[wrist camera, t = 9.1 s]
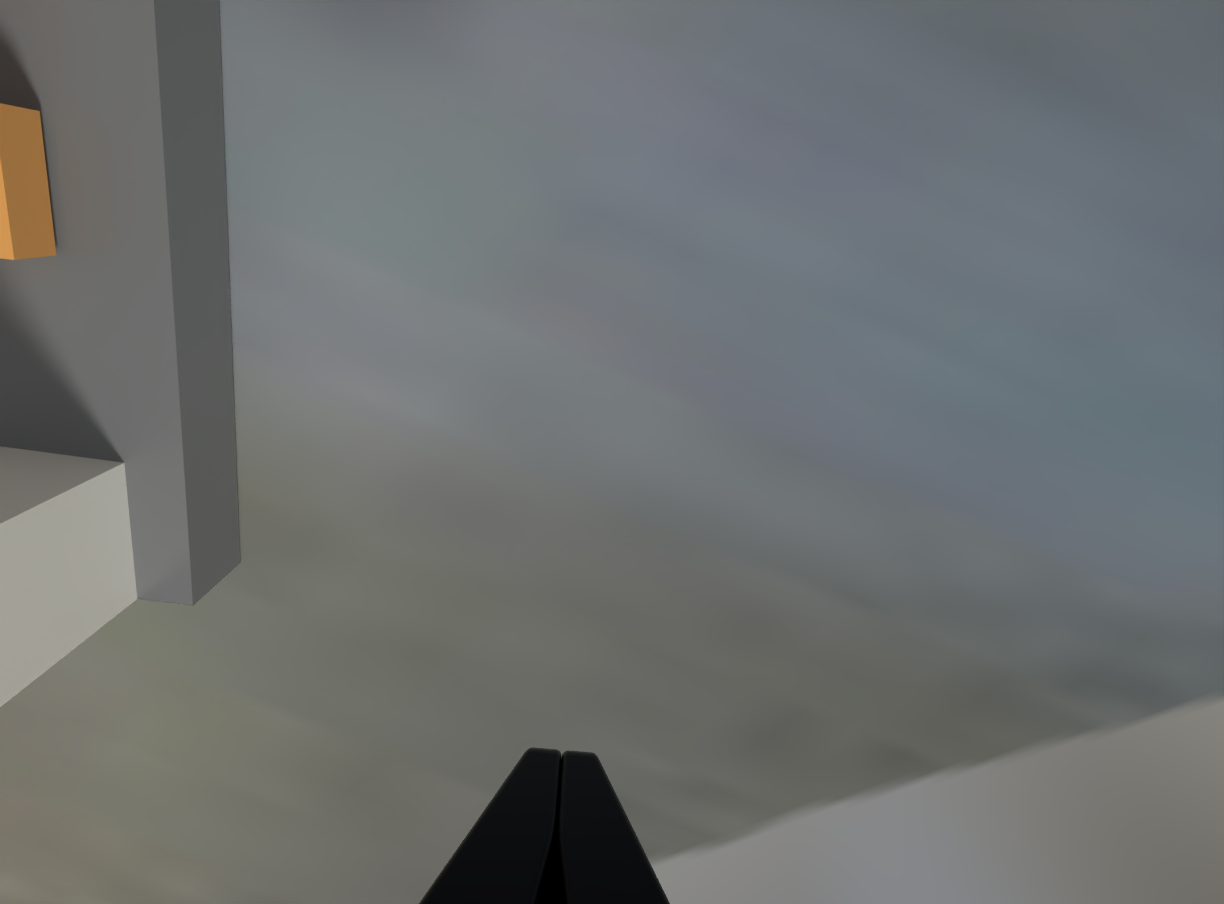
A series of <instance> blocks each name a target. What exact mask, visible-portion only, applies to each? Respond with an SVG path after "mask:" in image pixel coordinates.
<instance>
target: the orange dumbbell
mask: <svg viewBox="0 0 1224 904" xmlns="http://www.w3.org/2000/svg"><path fill="white" fill-rule="evenodd" d="M47 256H56V247H55V239H54V230H53V222H52V213H51V205H50V196H49V187H48V179H47V170H46V162H45V153H44V145H43V136H42V127H41V119H40V111H37V110H32V109H27V108H22V107H17V106H12V105H7V104H2V103H0V258H2V259H10V260H19V259H28V258H38V257H47Z"/></svg>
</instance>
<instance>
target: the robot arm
mask: <svg viewBox="0 0 1224 904" xmlns="http://www.w3.org/2000/svg"><path fill="white" fill-rule="evenodd" d="M419 904H670V903H669V901H668V899H667V897H666V895H665V893H664V891H663V889H662V887H661V885H660V883H659V881H658V879H657V877H656V875H655V873H654V870H653V868H652V866H651V864H650V862H649V860H648V858H647V856H646V854H645V852H644V850H643V848H642V846H641V844H640V842H639V840H638V838H637V836H636V834H635V832H634V830H633V828H632V826H631V824H630V822H629V819H628V817H627V815H626V813H625V811H624V809H623V807H622V805H621V803H620V801H619V799H618V797H617V795H616V793H615V791H614V789H613V787H612V785H611V783H610V781H609V779H608V777H607V775H606V773H605V771H604V769H603V766H602V764H601V762H600V760H599V759H598V757H597V756H596V755H595V754H594V753H591V752H579V751H565V752H564V753H563V755H562V759H561V753H560V751H558V750H556V749H544V748H530V749H528V750H527V751H526V752H525V753H524V754H523V756H522V757H521V759H520V760H519V762H518V763H517V764H516V766H515V767H514V769H513V770H512V772H511V773H510V774H509V776H508V777H507V779H506V780H505V782H504V783H503V784H502V786H501V787H500V789H499V790H498V792H497V793H496V794H495V796H494V797H493V799H492V800H491V802H490V803H489V804H488V806H487V807H486V809H485V810H484V812H483V813H482V814H481V816H480V817H479V819H478V820H477V822H476V823H475V824H474V826H473V827H472V829H471V830H470V832H469V833H468V834H467V836H466V837H465V839H464V840H463V842H462V843H461V844H460V846H459V847H458V849H457V850H456V852H455V853H454V854H453V856H452V857H451V859H450V860H449V862H448V863H447V864H446V866H445V867H444V869H443V870H442V872H441V873H440V874H439V876H438V877H437V879H436V880H435V882H434V883H433V884H432V886H431V887H430V889H429V890H428V892H427V893H426V894H425V896H424V897H423V899H422V900H421V902H420V903H419Z"/></svg>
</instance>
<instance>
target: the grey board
mask: <svg viewBox="0 0 1224 904" xmlns="http://www.w3.org/2000/svg"><path fill="white" fill-rule="evenodd" d="M0 103H2V104H7V105H12V106H17V107H22V108H27V109H32V110H37V111H40V119H41V127H42V136H43V145H44V153H45V162H46V170H47V179H48V187H49V196H50V205H51V213H52V222H53V230H54V239H55V247H56V256H47V257H38V258H28V259H19V260H10V259H2V258H0V446H1V447H9V448H17V449H24V450H32V451H39V452H47V453H55V454H62V455H70V456H77V457H85V458H93V459H100V460H108V461H115V462H123V463H124V465H125V475H126V486H127V496H128V507H129V517H130V528H131V538H132V549H133V560H134V570H135V581H136V591H137V599H142V600H150V601H158V602H166V603H175V604H183V605H191V606H193V605H194V604H195V603H196V602H198V601H199V600H200V599H201V598H202V597H203V596H204V595H205V594H206V593H207V592H209V591H210V590H211V589H212V588H213V587H214V586H215V585H216V584H217V583H218V582H220V581H221V580H222V579H223V578H224V577H225V576H226V575H227V574H228V573H229V572H231V571H232V570H233V569H234V568H235V567H236V566H237V565H238V564H239V563H240V536H239V510H238V484H237V457H236V431H235V404H234V378H233V352H232V325H231V299H230V272H229V246H228V220H227V193H226V167H225V140H224V114H223V88H222V61H221V35H220V8H219V0H0Z"/></svg>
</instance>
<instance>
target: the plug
mask: <svg viewBox="0 0 1224 904" xmlns="http://www.w3.org/2000/svg"><path fill="white" fill-rule="evenodd" d="M136 599H137V591H136V581H135V570H134V560H133V549H132V538H131V528H130V517H129V507H128V496H127V486H126V475H125V465H124V463H123V462H115V461H108V460H100V459H93V458H85V457H77V456H70V455H62V454H55V453H47V452H39V451H32V450H24V449H17V448H9V447H1V446H0V707H1V706H2V705H4V704H5V703H6V702H7V701H9V700H10V699H11V698H12V697H14V696H15V695H16V694H18V693H19V692H20V691H21V690H23V689H24V688H25V687H26V686H28V685H29V684H30V683H31V682H33V681H34V680H35V679H37V678H38V677H39V676H40V675H42V674H43V673H44V672H45V671H47V670H48V669H49V668H50V667H52V666H53V665H54V664H55V663H57V662H58V661H59V660H61V659H62V658H63V657H64V656H66V655H67V654H68V653H69V652H71V651H72V650H73V649H74V648H76V647H77V646H78V645H80V644H81V643H82V642H83V641H85V640H86V639H87V638H88V637H90V636H91V635H92V634H93V633H95V632H96V631H97V630H98V629H100V628H101V627H102V626H104V625H105V624H106V623H107V622H109V621H110V620H111V619H112V618H114V617H115V616H116V615H117V614H119V613H120V612H121V611H123V610H124V609H125V608H126V607H128V606H129V605H130V604H131V603H133V602H134V601H135V600H136Z"/></svg>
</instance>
